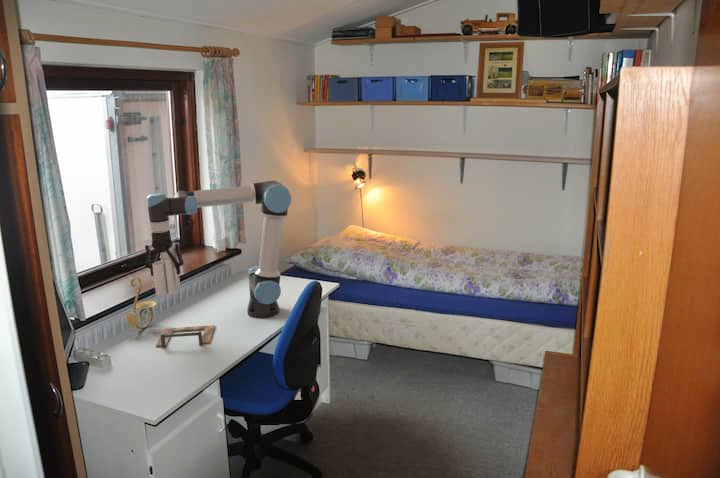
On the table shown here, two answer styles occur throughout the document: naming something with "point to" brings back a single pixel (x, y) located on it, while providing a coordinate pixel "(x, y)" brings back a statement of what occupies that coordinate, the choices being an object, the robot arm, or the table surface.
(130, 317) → the wall sconce
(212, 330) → the brown wooden stand
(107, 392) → the table surface
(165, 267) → the candle
